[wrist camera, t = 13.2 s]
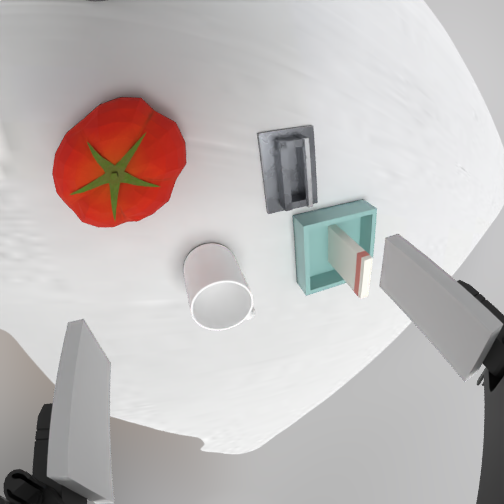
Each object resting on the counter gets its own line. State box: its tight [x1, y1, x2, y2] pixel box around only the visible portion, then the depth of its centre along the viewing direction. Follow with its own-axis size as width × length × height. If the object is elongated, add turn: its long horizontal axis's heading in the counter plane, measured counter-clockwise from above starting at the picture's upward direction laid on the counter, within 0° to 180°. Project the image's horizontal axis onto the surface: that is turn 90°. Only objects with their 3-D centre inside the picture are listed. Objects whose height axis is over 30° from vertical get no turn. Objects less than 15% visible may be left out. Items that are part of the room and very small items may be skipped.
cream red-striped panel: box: [328, 224, 373, 299], centre depth 48 cm, size 7×1×11 cm, turn 7°
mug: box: [183, 243, 255, 330], centre depth 46 cm, size 12×8×10 cm
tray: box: [293, 200, 377, 295], centre depth 51 cm, size 13×13×4 cm
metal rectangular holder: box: [258, 126, 317, 214], centre depth 43 cm, size 12×8×3 cm, turn 7°
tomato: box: [52, 97, 186, 227], centre depth 33 cm, size 14×16×10 cm
